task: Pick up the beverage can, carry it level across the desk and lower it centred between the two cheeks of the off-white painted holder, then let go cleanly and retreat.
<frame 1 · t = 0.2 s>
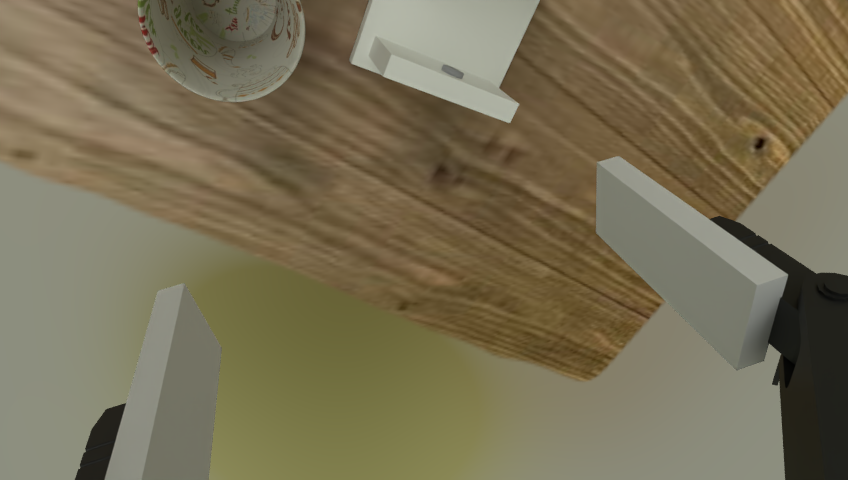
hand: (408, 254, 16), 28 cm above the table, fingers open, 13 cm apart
holder: (451, 4, 40), on the table
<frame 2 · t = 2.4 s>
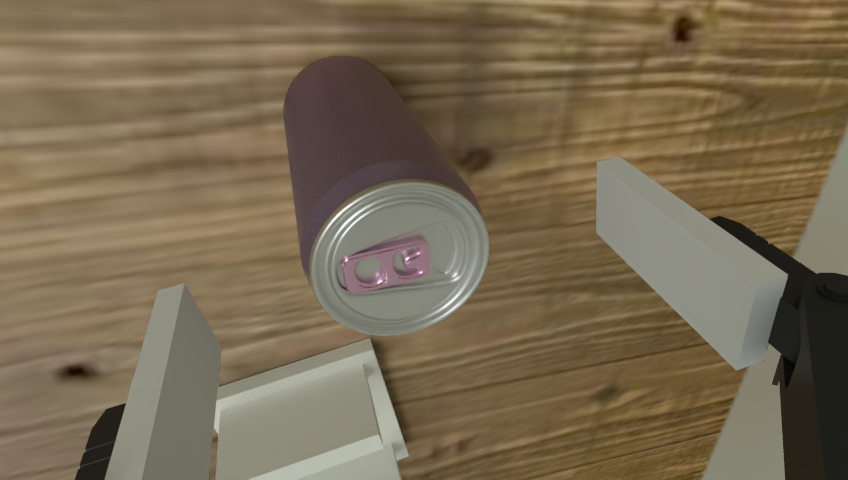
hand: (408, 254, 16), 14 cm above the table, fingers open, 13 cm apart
holder: (314, 421, 40), on the table
beverage can: (339, 109, 28), on the table
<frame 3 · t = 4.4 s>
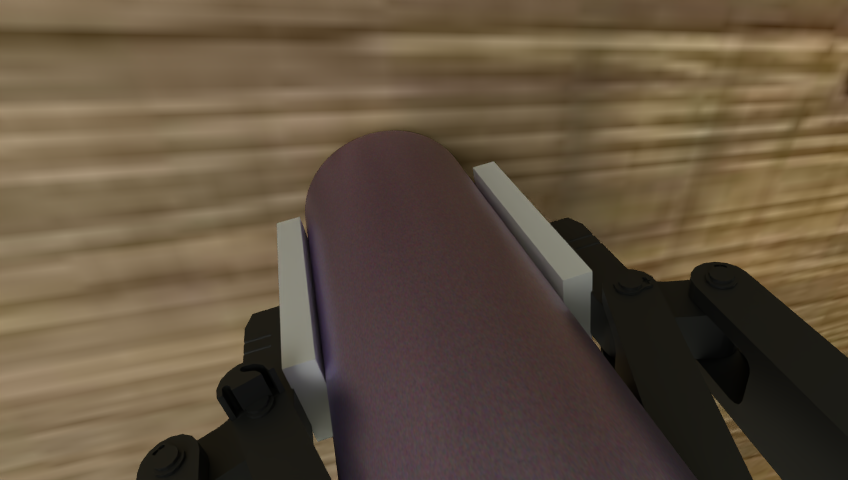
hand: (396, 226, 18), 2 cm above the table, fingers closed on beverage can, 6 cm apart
beverage can: (384, 198, 20), on the table, touching gripper
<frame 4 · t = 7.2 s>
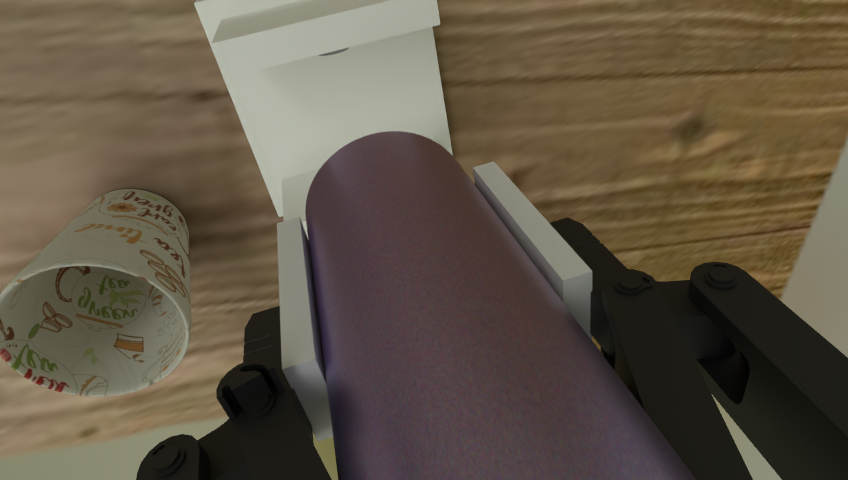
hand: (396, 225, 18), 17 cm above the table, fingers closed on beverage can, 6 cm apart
holder: (340, 91, 32), on the table
beverage can: (384, 198, 20), point 15 cm above the table, touching gripper
mug: (107, 242, 33), on the table
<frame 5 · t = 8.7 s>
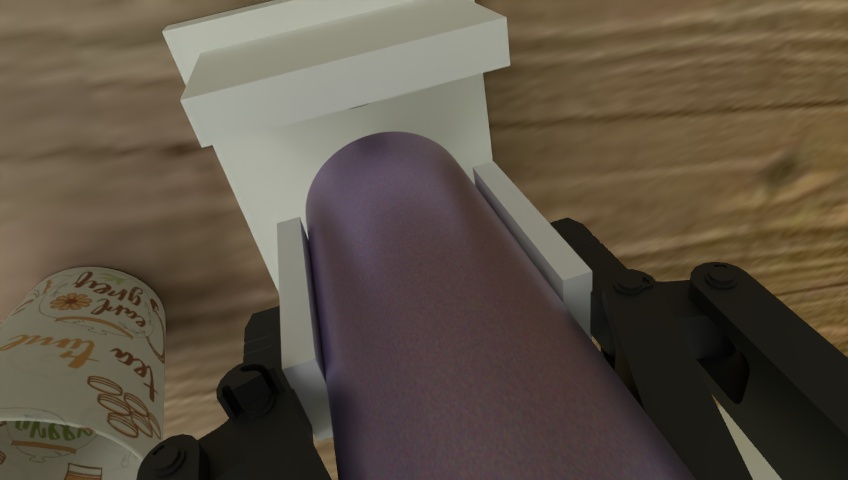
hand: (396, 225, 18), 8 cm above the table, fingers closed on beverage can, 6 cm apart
holder: (358, 138, 24), on the table
beverage can: (385, 198, 20), point 6 cm above the table, touching gripper
mug: (60, 329, 26), on the table
when the fingers open (5 cm above the table, at t = 10.1 s): beverage can drops 2 cm, resting on holder.
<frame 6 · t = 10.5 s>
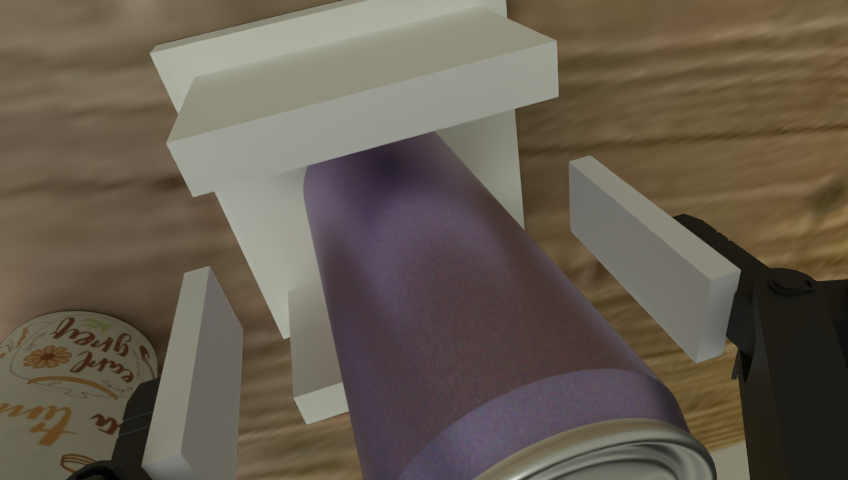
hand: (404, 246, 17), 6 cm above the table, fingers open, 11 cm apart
holder: (372, 168, 22), on the table
beverage can: (376, 179, 21), point 1 cm above the table, touching holder
mug: (40, 377, 23), on the table
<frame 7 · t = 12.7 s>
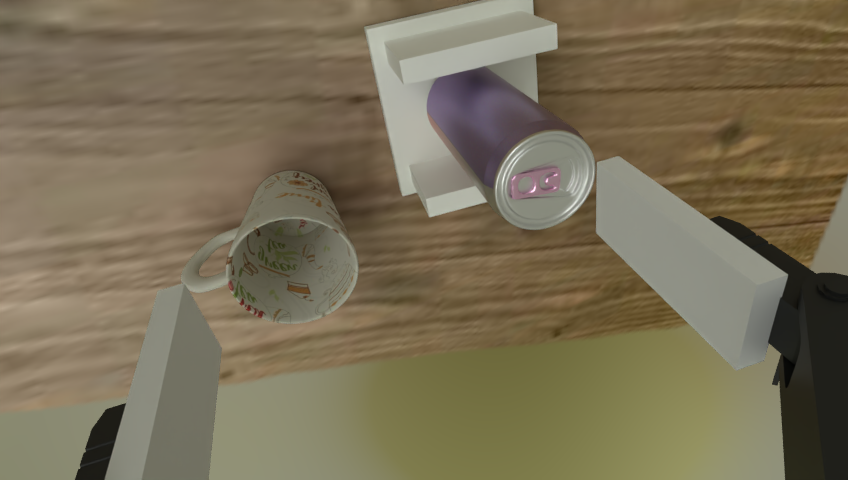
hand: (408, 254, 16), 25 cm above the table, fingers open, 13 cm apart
holder: (458, 97, 40), on the table
beverage can: (462, 100, 40), point 1 cm above the table, touching holder
mug: (268, 213, 42), on the table
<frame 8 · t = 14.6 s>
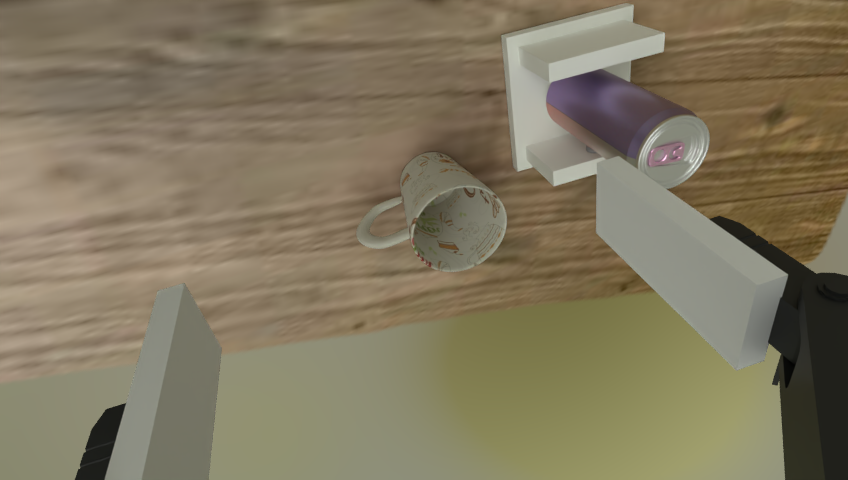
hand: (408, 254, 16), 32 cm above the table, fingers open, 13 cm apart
holder: (566, 89, 50), on the table
beverage can: (571, 92, 49), point 1 cm above the table, touching holder
mug: (409, 187, 52), on the table
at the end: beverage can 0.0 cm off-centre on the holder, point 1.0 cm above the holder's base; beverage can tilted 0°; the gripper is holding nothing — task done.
